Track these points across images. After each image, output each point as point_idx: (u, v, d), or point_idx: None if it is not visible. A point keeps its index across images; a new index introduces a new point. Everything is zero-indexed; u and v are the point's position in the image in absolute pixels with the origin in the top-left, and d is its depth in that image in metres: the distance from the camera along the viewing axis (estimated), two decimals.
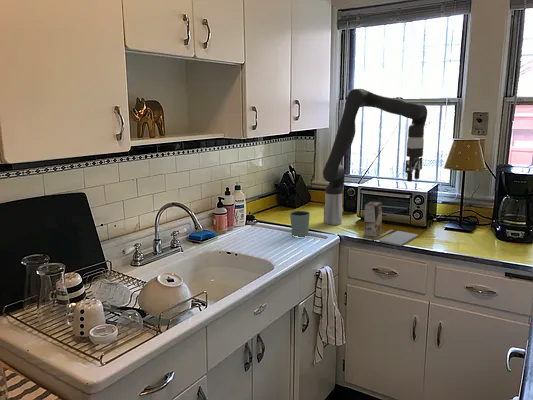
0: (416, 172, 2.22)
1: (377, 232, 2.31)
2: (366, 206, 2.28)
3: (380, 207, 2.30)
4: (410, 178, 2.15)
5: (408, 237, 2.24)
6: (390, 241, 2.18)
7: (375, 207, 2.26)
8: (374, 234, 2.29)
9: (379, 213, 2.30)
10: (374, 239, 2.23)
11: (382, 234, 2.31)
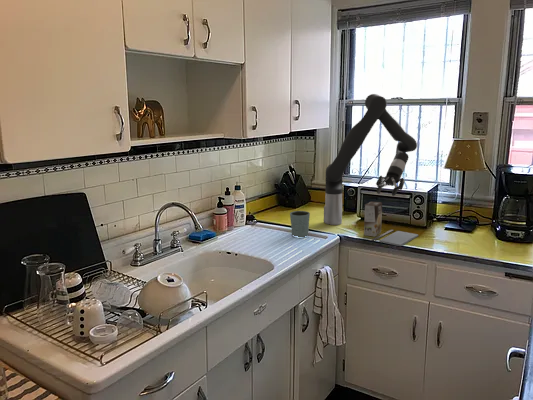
0: (380, 188, 2.42)
1: (377, 232, 2.31)
2: (366, 206, 2.28)
3: (380, 207, 2.30)
4: None
5: (408, 237, 2.24)
6: (390, 241, 2.18)
7: (375, 207, 2.26)
8: (374, 234, 2.29)
9: (379, 213, 2.30)
10: (374, 239, 2.23)
11: (382, 234, 2.31)
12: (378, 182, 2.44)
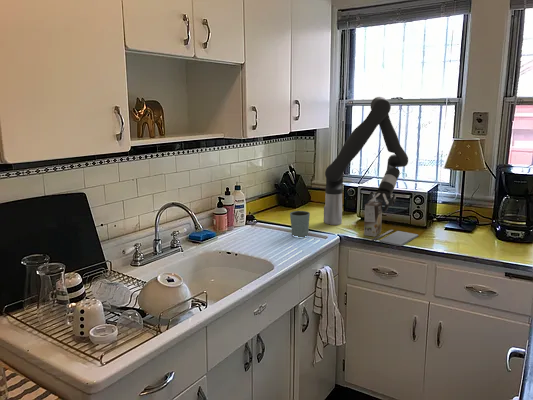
0: None
1: (377, 232, 2.31)
2: (366, 206, 2.28)
3: (380, 207, 2.30)
4: None
5: (408, 237, 2.24)
6: (390, 241, 2.18)
7: (375, 207, 2.26)
8: (374, 234, 2.29)
9: (379, 213, 2.30)
10: (374, 239, 2.23)
11: (382, 234, 2.31)
12: (369, 198, 2.39)
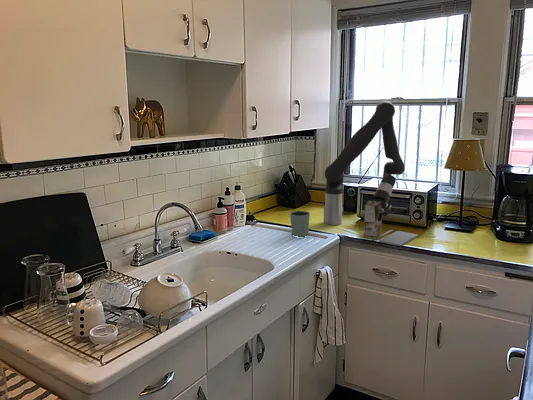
0: None
1: (377, 232, 2.31)
2: (366, 206, 2.28)
3: (380, 207, 2.30)
4: None
5: (408, 237, 2.24)
6: (390, 241, 2.18)
7: (375, 207, 2.26)
8: (374, 234, 2.29)
9: (379, 213, 2.30)
10: (374, 239, 2.23)
11: (382, 234, 2.31)
12: None
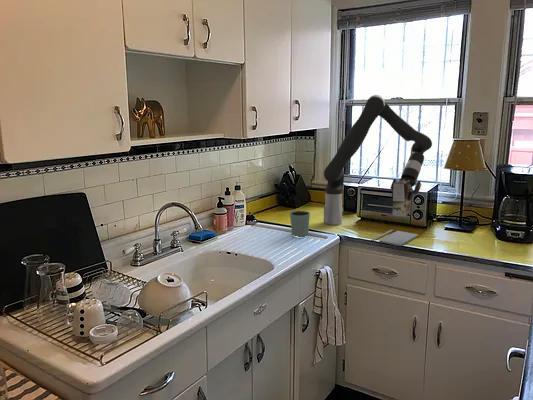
0: None
1: (407, 212, 2.19)
2: (395, 184, 2.16)
3: (409, 185, 2.18)
4: None
5: (408, 237, 2.24)
6: (390, 241, 2.18)
7: (405, 185, 2.14)
8: (403, 214, 2.16)
9: (408, 192, 2.18)
10: (374, 239, 2.23)
11: (382, 234, 2.31)
12: (393, 186, 2.24)
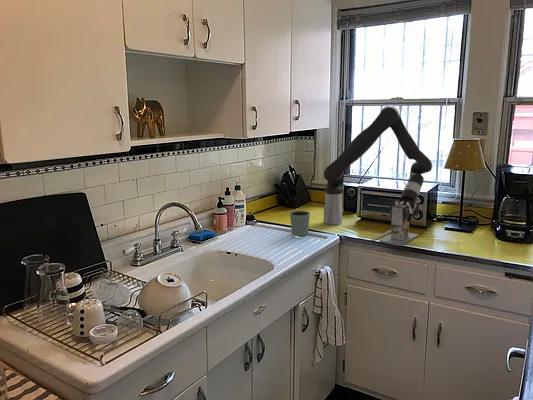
0: None
1: (405, 236, 2.21)
2: (393, 208, 2.19)
3: (408, 210, 2.21)
4: None
5: (408, 237, 2.24)
6: (390, 241, 2.18)
7: (403, 210, 2.16)
8: (401, 238, 2.19)
9: (407, 216, 2.20)
10: (374, 239, 2.23)
11: (382, 234, 2.31)
12: (391, 207, 2.26)
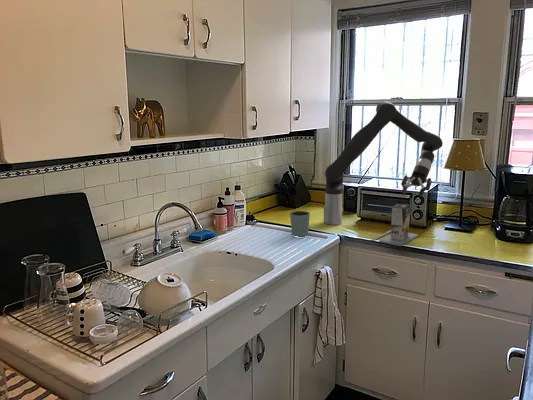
0: (406, 188, 2.32)
1: (405, 236, 2.21)
2: (393, 208, 2.19)
3: (408, 210, 2.21)
4: None
5: (408, 237, 2.24)
6: (390, 241, 2.18)
7: (403, 210, 2.16)
8: (401, 238, 2.19)
9: (407, 216, 2.20)
10: (374, 239, 2.23)
11: (382, 234, 2.31)
12: (403, 182, 2.33)
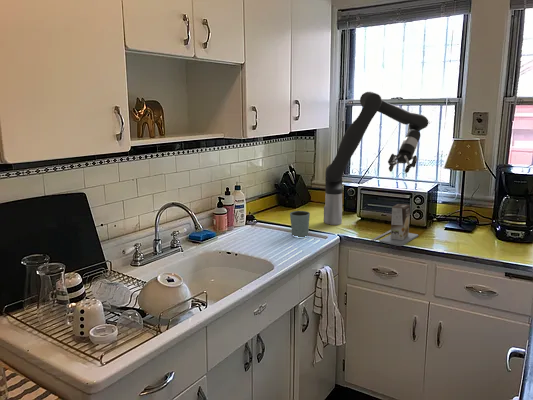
0: (392, 165, 2.39)
1: (405, 236, 2.21)
2: (393, 208, 2.19)
3: (408, 210, 2.21)
4: None
5: (408, 237, 2.24)
6: (390, 241, 2.18)
7: (403, 210, 2.16)
8: (401, 238, 2.19)
9: (407, 216, 2.20)
10: (374, 239, 2.23)
11: (382, 234, 2.31)
12: (390, 160, 2.40)
